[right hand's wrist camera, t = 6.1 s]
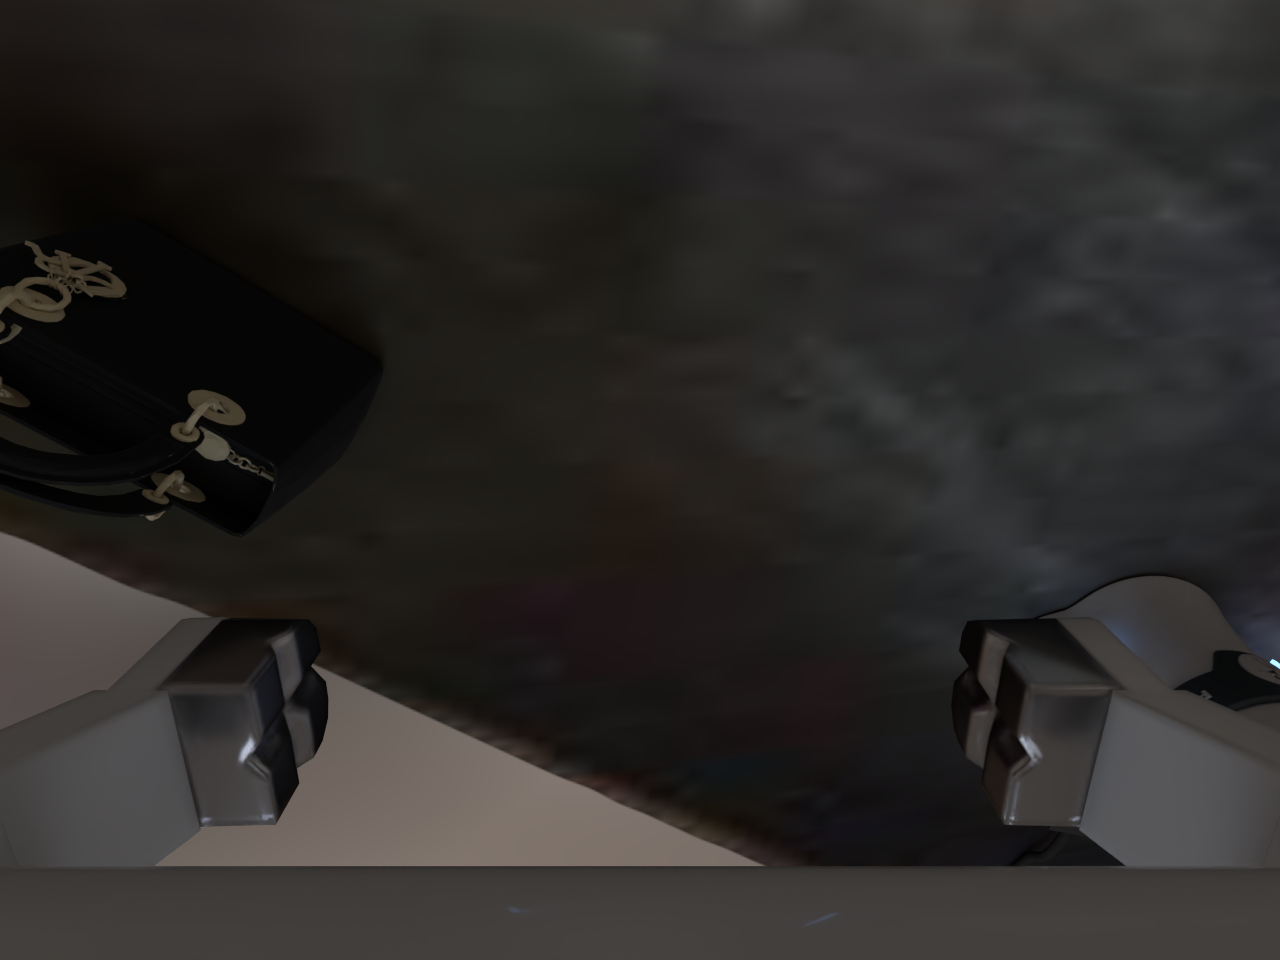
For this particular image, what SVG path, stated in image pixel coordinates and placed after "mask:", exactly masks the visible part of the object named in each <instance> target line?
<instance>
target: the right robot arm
mask: <svg viewBox="0 0 1280 960" xmlns="http://www.w3.org/2000/svg"><path fill="white" fill-rule="evenodd" d="M320 651H321V649H320V644H319V639H318V634H317V629H316V627H315V626H314V624H313V623H312V622H311V621H310V620H309V619H259V618H230V619H229V618H226V617H213V618H189V619H182V620H181V621H179V622H178V623H177V624H176V625H175V626H174V627H173V628H172V629H171V630H170V631H169V632H168V633H167V634H166V635H165V636H164V637H163V638H162V639H161V640H160V641H158V642H157V643H156V644H155V645H154V646H153V647H152V648H151V649H150V650H149V651H148V652H147V653H146V654H145V655H144V656H143V657H142V658H141V659H140V660H139V661H137V662H136V663H135V664H134V665H133V666H132V667H131V668H130V669H129V670H128V671H127V672H126V673H125V674H124V675H123V676H122V677H121V678H120V679H119V680H118V681H117V682H115V683H114V684H113V685H112V686H111V687H110V688H109V689H108V690H93V691H91V692H89V693H86V694H84V695H82V696H79V697H77V698H75V699H72V700H70V701H67V702H65V703H63V704H60V705H58V706H56V707H53V708H51V709H48V710H46V711H44V712H41V713H39V714H37V715H34V716H32V717H30V718H27V719H25V720H22V721H20V722H18V723H16V724H13V725H11V726H8V727H6V728H4V729H1V730H0V960H1280V730H1279V729H1276V728H1274V727H1271V726H1269V725H1267V724H1264V723H1262V722H1260V721H1257V720H1255V719H1253V718H1250V717H1248V716H1246V715H1243V714H1241V713H1238V712H1236V711H1234V710H1231V709H1229V708H1227V707H1224V706H1222V705H1220V704H1217V703H1215V702H1213V701H1210V700H1208V699H1205V698H1203V697H1201V696H1198V695H1196V694H1194V693H1191V692H1189V691H1187V690H1172V689H1171V688H1170V687H1169V686H1168V685H1167V684H1166V683H1165V682H1164V681H1163V680H1162V679H1160V678H1159V677H1158V676H1157V675H1156V674H1155V673H1154V672H1153V671H1152V670H1151V669H1150V668H1149V667H1148V666H1147V665H1146V664H1145V663H1144V662H1143V661H1142V660H1141V659H1140V658H1138V657H1137V656H1136V655H1135V654H1134V653H1133V652H1132V651H1131V650H1130V649H1129V648H1128V647H1127V646H1126V645H1125V644H1124V643H1123V642H1122V641H1121V640H1120V639H1119V638H1118V637H1117V636H1115V635H1114V634H1113V633H1112V632H1111V631H1110V630H1109V629H1108V628H1107V627H1106V626H1105V625H1104V624H1103V623H1102V622H1101V621H1100V620H1097V619H1094V618H1091V617H1076V618H1039V619H998V620H973V621H967V624H966V626H965V628H964V630H963V632H962V637H961V643H960V648H959V651H960V653H961V655H962V656H963V658H964V659H965V661H966V662H967V664H968V665H969V667H968V668H967V669H966V670H965V671H964V672H963V673H962V674H961V675H960V676H959V677H958V678H957V679H956V680H955V681H954V687H953V696H952V704H951V706H952V717H953V727H954V730H955V734H956V737H957V740H958V743H959V745H960V747H961V749H962V750H963V752H964V754H965V756H966V758H968V759H969V760H971V761H973V762H974V763H976V764H977V765H979V766H980V767H982V768H983V773H982V779H981V785H982V786H983V788H984V790H985V792H986V793H987V795H988V797H989V799H990V800H991V802H992V804H993V806H994V807H995V809H996V811H997V813H998V814H999V816H1000V818H1001V820H1002V821H1003V823H1004V825H1037V826H1074V827H1080V829H1079V830H1080V831H1081V832H1083V833H1084V834H1085V835H1087V836H1088V837H1089V838H1090V839H1092V840H1093V841H1094V842H1096V843H1097V844H1098V845H1100V846H1101V847H1102V848H1104V849H1105V850H1106V851H1107V852H1109V853H1110V854H1111V855H1113V856H1114V857H1115V858H1117V859H1118V860H1119V861H1121V862H1122V863H1123V864H1124V865H1126V866H155V865H156V864H157V863H158V862H160V861H161V860H162V859H164V858H165V857H166V856H167V855H169V854H170V853H171V852H173V851H174V850H175V849H177V848H178V847H179V846H181V845H182V844H183V843H185V842H186V841H187V840H188V839H190V838H191V837H192V836H194V835H195V834H196V833H198V832H199V831H200V827H205V826H241V825H275V824H276V823H277V822H278V820H279V818H280V816H281V815H282V813H283V811H284V809H285V808H286V806H287V804H288V802H289V800H290V799H291V797H292V795H293V793H294V792H295V790H296V788H297V786H298V785H299V779H298V773H297V768H298V767H300V766H301V765H303V764H304V763H306V762H307V761H309V760H310V759H312V758H314V756H315V754H316V752H317V750H318V748H319V747H320V745H321V743H322V741H323V737H324V733H325V728H326V724H327V720H328V694H327V686H326V681H325V680H324V679H323V678H322V677H321V676H320V675H319V674H318V673H317V672H316V671H315V670H314V669H313V668H312V667H311V665H312V664H313V662H314V661H315V659H316V658H317V656H318V655H319V653H320Z"/></svg>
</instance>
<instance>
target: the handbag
mask: <svg viewBox="0 0 1280 960" xmlns="http://www.w3.org/2000/svg"><path fill="white" fill-rule="evenodd" d="M382 373H383V367H382V366H381V364H380V363H379V362H378V361H376V360H374V359H373V358H371V357H369V356H368V355H366V354H364V353H363V352H361V351H359V350H358V349H356V348H354V347H353V346H351V345H349V344H348V343H346V342H344V341H343V340H341V339H339V338H338V337H336V336H334V335H333V334H331V333H329V332H328V331H326V330H324V329H323V328H321V327H319V326H318V325H316V324H314V323H313V322H311V321H309V320H308V319H306V318H304V317H303V316H301V315H299V314H298V313H296V312H294V311H293V310H291V309H289V308H288V307H286V306H284V305H283V304H281V303H279V302H278V301H276V300H274V299H273V298H271V297H269V296H268V295H266V294H264V293H263V292H261V291H259V290H258V289H256V288H254V287H253V286H251V285H249V284H247V283H246V282H244V281H242V280H241V279H239V278H237V277H235V276H234V275H232V274H230V273H229V272H227V271H225V270H224V269H222V268H220V267H218V266H217V265H215V264H213V263H212V262H210V261H208V260H207V259H205V258H203V257H201V256H200V255H198V254H196V253H195V252H193V251H191V250H190V249H188V248H186V247H184V246H183V245H181V244H179V243H178V242H176V241H174V240H172V239H171V238H169V237H167V236H166V235H164V234H162V233H161V232H159V231H157V230H155V229H154V228H152V227H150V226H149V225H147V224H145V223H144V222H142V221H140V220H138V219H122V220H117V221H112V222H106V223H102V224H98V225H94V226H90V227H86V228H82V229H78V230H73V231H69V232H65V233H61V234H57V235H53V236H49V237H45V238H41V239H37V240H33V241H25V243H21V244H17V245H13V246H9V247H4V248H0V413H1V414H3V415H5V416H7V417H8V418H10V419H12V420H14V421H16V422H18V423H20V424H22V425H24V426H25V427H27V428H29V429H31V430H33V431H35V432H37V433H39V434H41V435H43V436H44V437H46V438H48V439H50V440H52V441H54V442H56V443H58V444H60V445H61V446H63V447H65V448H67V449H69V450H71V451H73V452H75V453H77V454H78V455H70V454H59V453H50V452H44V451H38V450H34V449H31V448H28V447H24V446H21V445H17V444H14V443H12V442H10V441H8V440H6V439H4V438H2V437H0V490H3V491H5V492H8V493H11V494H14V495H16V496H19V497H22V498H25V499H29V500H32V501H36V502H39V503H43V504H47V505H50V506H54V507H58V508H61V509H65V510H68V511H72V512H78V513H85V514H93V515H100V516H108V517H138V516H146V518H148V519H149V520H155V519H157V518H159V517H160V516H161V515H162V514H163V513H164V512H165V511H166V510H168V509H170V508H171V506H172V505H175V506H177V507H179V508H181V509H183V510H185V511H186V512H188V513H190V514H192V515H194V516H196V517H198V518H200V519H202V520H203V521H205V522H207V523H209V524H211V525H213V526H215V527H217V528H219V529H220V530H222V531H224V532H226V533H228V534H230V535H232V536H236V537H242V536H244V535H246V534H247V533H249V532H250V531H252V530H253V529H254V528H256V527H257V526H258V525H260V524H261V523H263V522H264V521H265V520H267V519H268V518H269V517H271V516H272V515H274V514H275V513H276V512H278V511H279V510H280V509H282V508H283V507H284V506H285V505H287V504H288V503H289V502H290V501H291V500H293V499H294V498H295V497H296V496H298V495H299V494H300V493H301V492H303V491H304V490H305V489H306V488H307V487H309V486H310V485H311V484H312V483H313V482H315V481H316V480H317V479H318V478H319V477H320V476H321V475H322V474H324V473H325V472H326V471H327V470H328V469H329V468H330V467H331V466H333V465H334V464H335V463H336V462H337V461H338V460H339V459H340V458H341V456H342V455H343V454H344V452H345V451H346V450H347V448H348V447H349V445H350V443H351V441H352V439H353V437H354V436H355V434H356V432H357V430H358V428H359V427H360V425H361V423H362V421H363V419H364V417H365V416H366V414H367V412H368V409H369V407H370V404H371V402H372V400H373V397H374V395H375V393H376V390H377V388H378V385H379V383H380V380H381V377H382ZM35 481H36V482H35ZM38 482H42V483H48V484H58V485H74V486H94V485H112V484H118V483H124V482H131V483H133V484H135V485H137V486H139V487H141V488H143V489H140V490H136V491H133V492H130V493H126V494H123V495H110V496H94V495H87V494H80V493H76V492H71V491H67V490H63V489H59V488H54V487H51V486H47V485H44V484H41V483H38Z"/></svg>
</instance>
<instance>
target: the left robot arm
mask: <svg viewBox="0 0 1280 960" xmlns="http://www.w3.org/2000/svg"><path fill="white" fill-rule="evenodd" d="M1076 617H1091V618H1094V619H1097V620H1100V621H1101V622H1102V623H1103V624H1104V625H1105V626H1106V627H1107V628H1108V629H1109V630H1110V631H1111V632H1112V633H1113V634H1114V635H1115V636H1117V637H1118V638H1119V639H1120V640H1121V641H1122V642H1123V643H1124V644H1125V645H1126V646H1127V647H1128V648H1129V649H1130V650H1131V651H1132V652H1133V653H1134V654H1135V655H1136V656H1137V657H1138V658H1140V659H1141V660H1142V661H1143V662H1144V663H1145V664H1146V665H1147V666H1148V667H1149V668H1150V669H1151V670H1152V671H1153V672H1154V673H1155V674H1156V675H1157V676H1158V677H1159V678H1160V679H1162V680H1163V681H1164V682H1165V683H1166V684H1167V685H1168V686H1169V687H1170V688H1171V689H1172V690H1187V691H1189V692H1191V693H1194V694H1196V695H1198V696H1201V697H1203V698H1205V699H1208V700H1210V701H1213V702H1215V703H1217V704H1220V705H1222V706H1224V707H1227V708H1229V709H1231V710H1234V711H1236V712H1238V713H1241V714H1243V715H1246V716H1248V717H1250V718H1253V719H1255V720H1257V721H1260V722H1262V723H1264V724H1267V725H1269V726H1271V727H1274V728H1276V729H1279V730H1280V664H1279V663H1278V662H1276V661H1275V660H1273V659H1272V660H1271V662H1268V661H1266V660H1264V659H1262V658H1260V657H1258V656H1257V655H1256V654H1255V653H1254V652H1253V651H1252V650H1251V649H1250V648H1249V647H1248V646H1247V645H1246V644H1245V643H1244V642H1243V640H1242V639H1241V638H1240V637H1239V636H1238V635H1237V633H1236V632H1235V631H1234V630H1233V629H1232V627H1231V626H1230V625H1229V623H1228V622H1227V621H1226V619H1225V618H1224V616H1223V614H1222V613H1221V611H1220V609H1219V607H1218V606H1217V604H1216V603H1215V601H1214V600H1213V599H1212V598H1211V597H1210V596H1209V595H1208V594H1207V593H1206V592H1205V591H1203V590H1202V589H1200V588H1199V587H1197V586H1195V585H1193V584H1191V583H1189V582H1187V581H1184V580H1181V579H1177V578H1172V577H1166V576H1142V577H1135V578H1130V579H1126V580H1122V581H1119V582H1116V583H1113V584H1110V585H1108V586H1106V587H1104V588H1101V589H1099V590H1098V591H1096V592H1094V593H1092V594H1091V595H1089V596H1087V597H1086V598H1084V599H1083V600H1081V601H1080V602H1078V603H1077V604H1075V605H1074V606H1072V607H1070V608H1069V609H1067V610H1064V611H1061V612H1057V613H1053V614H1050V615H1046V616H1043V617H1040V618H1076ZM1038 619H1039V618H1038ZM1047 828H1048V829H1049V830H1053V831H1059V833H1058V835H1057V836H1056V837H1055V839H1054V840H1053V841H1052V843H1051V844H1050V845H1049V846H1048V847H1047V848H1045V849H1044V850H1043V851H1041V852H1029V853H1027V854H1025V855H1024V856H1022V857H1021V858H1020V859H1018V860H1017V861H1016V862H1015V863H1014V864H1013V865H1012V866H1027V865H1029V864H1030V863H1031V862H1033V861H1039V862H1042V861H1046V860H1048V859H1050V858H1051V857H1053V856H1054V855H1055V854H1056V853H1057V852H1058V851H1059V850H1060V849H1061V848H1062V846H1063V845H1064V844H1065V842H1066V841H1067V840H1068V838H1069V837H1070V836H1071V834H1075V835H1081V836H1086V837H1088V836H1087V835H1085V834H1084V833H1083V832H1081V831H1080V830H1079V829H1080V827H1074V826H1047Z"/></svg>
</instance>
